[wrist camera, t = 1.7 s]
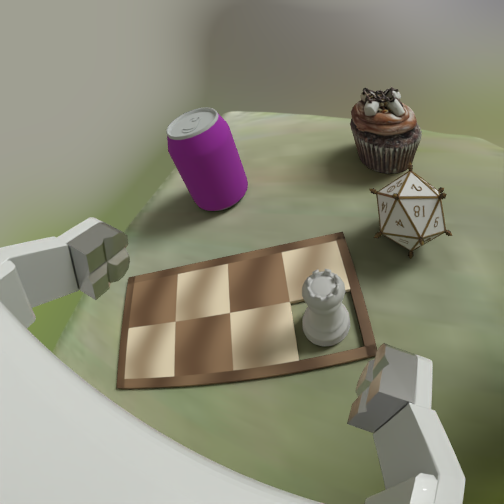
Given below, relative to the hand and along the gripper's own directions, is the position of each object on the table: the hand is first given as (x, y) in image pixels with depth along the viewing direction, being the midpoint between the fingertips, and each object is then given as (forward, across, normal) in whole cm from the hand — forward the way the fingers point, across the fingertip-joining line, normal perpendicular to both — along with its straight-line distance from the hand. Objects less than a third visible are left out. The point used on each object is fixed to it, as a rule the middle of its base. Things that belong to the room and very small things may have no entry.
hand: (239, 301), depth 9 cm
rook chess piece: (+15, -4, +15) cm, 22 cm away
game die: (+26, -9, +8) cm, 29 cm away
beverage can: (+29, +15, +13) cm, 35 cm away
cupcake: (+39, -5, +3) cm, 39 cm away
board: (+14, +5, +17) cm, 23 cm away
